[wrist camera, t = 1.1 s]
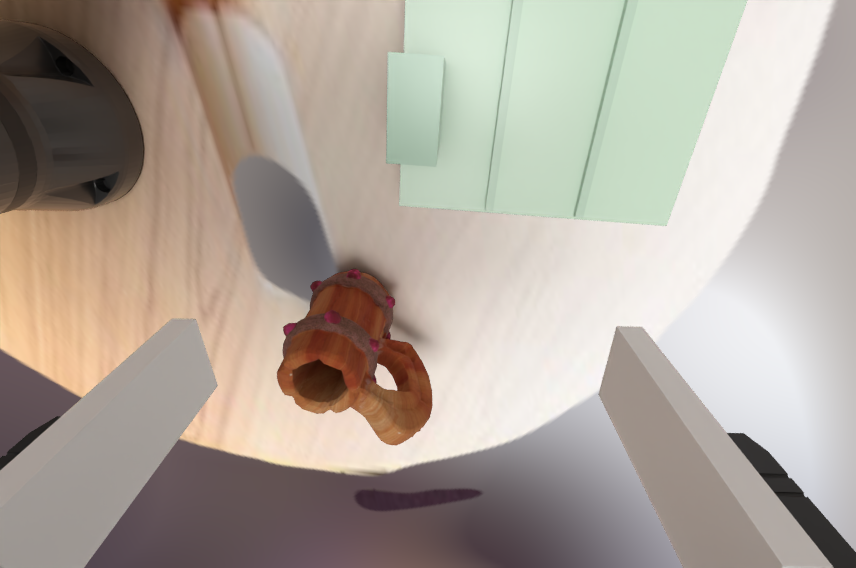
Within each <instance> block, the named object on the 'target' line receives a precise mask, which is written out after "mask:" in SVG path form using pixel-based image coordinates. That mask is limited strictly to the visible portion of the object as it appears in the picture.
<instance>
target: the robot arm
mask: <svg viewBox="0 0 856 568" xmlns="http://www.w3.org/2000/svg"><path fill="white" fill-rule="evenodd" d="M142 162H143V141H142V135H141V130H140V126H139V123H138V120H137V117H136V115H135V112H134V110H133V108H132V106H131V103H130V101H129V100H128V98H127V96H126V94H125V93H124V91H123V90H122V88H121V86H120V85H119V84H118V82H117V81H116V80H115V78H114V77H113V76H112V74H111V73H110V72H109V71H108V70H107V69H106V68H105V67H104V65H103V64H102V63H101V62H100V61H99V60H98V59H96V58H95V57H94V56H93V55H92V54H91V53H90V52H88V51H87V50H86V49H85V48H83V47H82V46H81V45H79V44H78V43H76V42H75V41H73V40H72V39H70V38H68V37H67V36H65V35H63V34H61V33H59V32H57V31H54V30H52V29H49V28H47V27H44V26H40V25H37V24H32V23H25V22H18V21H11V20H2V19H0V214H1V213H5V212H8V211H11V210H48V211H79V210H87V209H91V208H95V207H98V206H101V205H104V204H107V203H110V202H112V201H115V200H117V199H119V198H121V197H122V196H123V195H125V194H126V193H127V192H128V191H129V190H130V189H131V188H132V187H133V185H134V184H135V182H136V181H137V179H138V176H139V174H140V171H141V167H142ZM217 386H218V385H217V382H216V379H215V376H214V373H213V370H212V367H211V364H210V361H209V358H208V354H207V351H206V348H205V345H204V342H203V339H202V336H201V333H200V330H199V327H198V324H197V321H196V319H171V320H170V321H169V322H168V323H167V324H165V325H164V326H163V327H162V328H161V329H160V330H159V331H158V332H156V333H155V334H154V335H153V336H152V337H151V338H150V339H149V340H147V341H146V342H145V343H144V344H143V345H142V346H141V347H139V348H138V349H137V350H136V351H135V352H134V353H133V354H132V355H130V356H129V357H128V358H127V359H126V360H125V361H124V362H122V363H121V364H120V365H119V366H118V367H117V368H116V369H115V370H113V371H112V372H111V373H110V374H109V375H108V376H107V377H106V378H104V379H103V380H102V381H101V382H100V383H99V384H98V385H96V386H95V387H94V388H93V389H92V390H91V391H90V392H89V393H87V394H86V395H85V396H84V397H83V398H82V399H81V400H80V401H78V402H77V403H76V404H75V405H74V406H73V407H72V408H71V409H69V410H68V411H67V412H66V413H65V414H64V415H63V416H61V417H58V416H57V417H55V418H54V419H52V420H50V421H49V422H47V423H45V424H44V425H42V426H40V427H39V428H37V429H35V430H34V431H32V432H30V433H29V434H28V435H27V436H25V437H24V438H23V439H22V440H21V441H20V442H18V443H17V444H16V445H15V446H14V447H13V448H11V449H10V450H9V451H8V452H7V455H6V456H2V457H1V458H0V568H84V567H85V565H86V564H87V563H88V561H89V560H90V558H91V557H92V556H93V554H94V553H95V552H96V550H97V549H98V547H99V546H100V545H101V543H102V542H103V541H104V539H105V538H106V537H107V535H108V534H109V533H110V531H111V530H112V529H113V527H114V526H115V525H116V523H117V522H118V520H119V519H120V518H121V516H122V515H123V514H124V512H125V511H126V509H127V508H128V507H129V505H130V504H131V503H132V501H133V500H134V499H135V497H136V496H137V495H138V493H139V492H140V491H141V489H142V488H143V486H144V485H145V484H146V482H147V481H148V480H149V478H150V477H151V476H152V474H153V473H154V472H155V470H156V469H157V467H158V466H159V465H160V463H161V462H162V461H163V459H164V458H165V457H166V455H167V454H168V452H169V451H170V450H171V448H172V447H173V446H174V444H175V443H176V442H177V440H178V439H179V438H180V436H181V435H182V433H183V432H184V431H185V429H186V428H187V427H188V425H189V424H190V423H191V421H192V420H193V419H194V417H195V416H196V414H197V413H198V412H199V410H200V409H201V408H202V406H203V405H204V404H205V402H206V401H207V400H208V398H209V397H210V395H211V394H212V393H213V391H214V390H215V389H216V387H217ZM599 396H600V398H601V400H602V403H603V404H604V407H605V409H606V411H607V413H608V415H609V417H610V419H611V421H612V423H613V425H614V427H615V429H616V431H617V433H618V435H619V437H620V439H621V441H622V443H623V446H624V448H625V449H626V451H627V454H628V456H629V458H630V460H631V462H632V464H633V466H634V468H635V470H636V472H637V474H638V476H639V478H640V480H641V482H642V484H643V486H644V488H645V491H646V492H647V494H648V497H649V499H650V501H651V503H652V505H653V507H654V509H655V511H656V513H657V515H658V517H659V519H660V521H661V523H662V525H663V527H664V529H665V531H666V533H667V536H668V537H669V540H670V542H671V544H672V546H673V548H674V550H675V552H676V554H677V556H678V558H679V560H680V562H681V564H682V566H683V568H856V552H855V551H854V550H853V549H852V548H851V546H850V545H849V544H848V543H847V542H846V541H845V540H844V538H843V537H842V536H841V535H840V534H839V533H838V532H837V530H836V529H835V528H834V527H833V526H832V525H831V524H830V522H829V521H828V520H827V519H826V518H825V517H824V515H823V514H822V513H821V512H820V511H819V510H818V508H817V507H816V506H815V505H814V504H813V503H812V502H811V500H810V499H809V498H808V497H805V496H804V493H803V491H802V490H801V489H800V488H799V486H797V484H796V483H795V482H794V481H793V480H792V479H791V478H788V474H787V473H786V472H785V470H784V469H783V468H782V467H781V466H780V465H779V464H778V462H777V461H776V460H775V459H774V458H773V457H772V456H771V454H770V453H769V452H768V451H766V450H765V449H764V448H762V447H761V446H760V445H758V444H757V443H756V442H754V441H753V440H752V439H750V438H749V437H748V436H746V435H745V434H743V433H726V432H725V430H724V429H723V428H722V427H721V425H720V424H719V423H718V422H717V420H716V419H715V418H714V417H713V415H712V414H711V413H710V412H709V410H708V409H707V408H706V407H705V405H704V404H703V403H702V401H701V400H700V399H699V398H698V396H697V395H696V394H695V393H694V391H692V389H691V388H690V386H689V385H688V384H687V383H686V381H685V380H684V379H683V378H682V376H681V375H680V374H679V373H678V371H677V370H676V369H675V368H674V366H673V365H672V364H671V363H670V361H669V360H668V359H667V358H666V356H665V355H664V354H663V353H662V352H661V350H660V349H659V347H658V346H657V345H656V344H655V342H654V341H653V340H652V339H651V337H650V336H649V335H648V334H647V332H646V331H645V330H644V329H643V327H616V331H615V335H614V338H613V342H612V346H611V350H610V353H609V357H608V361H607V365H606V368H605V372H604V376H603V380H602V384H601V387H600V391H599Z"/></svg>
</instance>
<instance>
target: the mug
mask: <svg viewBox="0 0 856 568" xmlns="http://www.w3.org/2000/svg"><path fill="white" fill-rule="evenodd" d="M311 289H312V291H313V295H312V298H311V302H310V311H309V312H308V314H307V316H306V317H305V318H304V319H302V320H301V321H299V322H298V323H289V324H287V325H285V326H284V327H283V331H284V334H285V336H286V339H285V341H284V344H283V357H284V359H283V361H282V363H281V365H280V367H279V369H278V371H277V379H278V383H279V385H280V388H281V390H282V392H283V393H284V394H285V395H288V396H293V398H294V400H295V403H296V404H297V405H298V406H300V407H301V408H302V409H304V410H307V411H310V412H314V413H317V414H319V413H325V412H326V411H328V410H332V411H333V412H335V413H338V412H342V411H344V410H346V409H348V408H349V407H352V408H353V409H355V410H356V411H358V412H359V413H361V414H362V415H363V416H364V417H365V418H366V420H367V421H368V423H369V424H370V425H371V427H372V428H373V430H374V431H375V433H376V435H377V436H378V437H379V438H380V440H381V441H383V442H384V443H386V444H389V445H398V444H401V443H403V442H404V441H406V440H408V439H409V438H410V437H413V436H414V434H415V433H416V432H419V431H420V429H421V428H422V427H423V426H424V425H425V423H426V422H427V421H428V419H429V418H430V414H431V410H432V389H431V385H430V380H429V376H428V373H427V371H426V369H425V367H424V365H423V363H422V361H421V359H420V358H419V356H418V354H417V353H416V351H415V350H414V349H413V347H412V345H411V344H409V343H407V342H400V341H395V340H390V337H391V335H390V332H389V329H390V326H391V324H392V320H393V307H394V305H395V299H394V298H393V297H391V296H390V295H389V293H388V292H387V291H386V290H385V288H384V287H383V286H382V284H381V283H380V282H379V281H378V280H377V279H376V278H374V277H373V276H371V275H369V274H367V273H362V272H360V271H359V270H357V269H352V270H350V271H346V272H340V273H337V274H335V275H333V276H331V277H330V278H328V279H327V280H324V281H323V282H321V281H315V282H313V283H312V285H311ZM377 363H378V364H381V365H383V366H385V367H386V368H387V369H388V371H389V372H390V373H391V375H392V376H393V378H394V380H395V383H396V385H397V390H398V391H395V390H386V389H383V388H382V387H380V386H379V385H377V384H376V378H375V375H374V374H375V370H376V367H377Z"/></svg>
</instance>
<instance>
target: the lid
mask: <svg viewBox="0 0 856 568" xmlns="http://www.w3.org/2000/svg"><path fill="white" fill-rule="evenodd" d="M747 1H748V0H405V27H404V53H398V52H388V75H387V149H386V163H389V164H400V195H399V206H409V207H422V208H435V209H448V210H462V211H475V212H488V213H501V214H514V215H527V216H541V217H554V218H567V219H580V220H593V221H607V222H620V223H633V224H646V225H659V226H667V223H668V220H669V217H670V215H671V212H672V209H673V206H674V203H675V201H676V198H677V195H678V192H679V190H680V187H681V184H682V181H683V178H684V176H685V173H686V170H687V167H688V165H689V162H690V159H691V156H692V153H693V151H694V148H695V145H696V142H697V140H698V137H699V134H700V131H701V128H702V126H703V123H704V120H705V117H706V115H707V112H708V109H709V106H710V103H711V101H712V98H713V95H714V92H715V90H716V87H717V84H718V81H719V78H720V76H721V73H722V70H723V67H724V65H725V62H726V59H727V56H728V53H729V51H730V48H731V45H732V42H733V40H734V37H735V34H736V31H737V28H738V26H739V23H740V20H741V17H742V14H743V12H744V9H745V6H746V3H747Z"/></svg>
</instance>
